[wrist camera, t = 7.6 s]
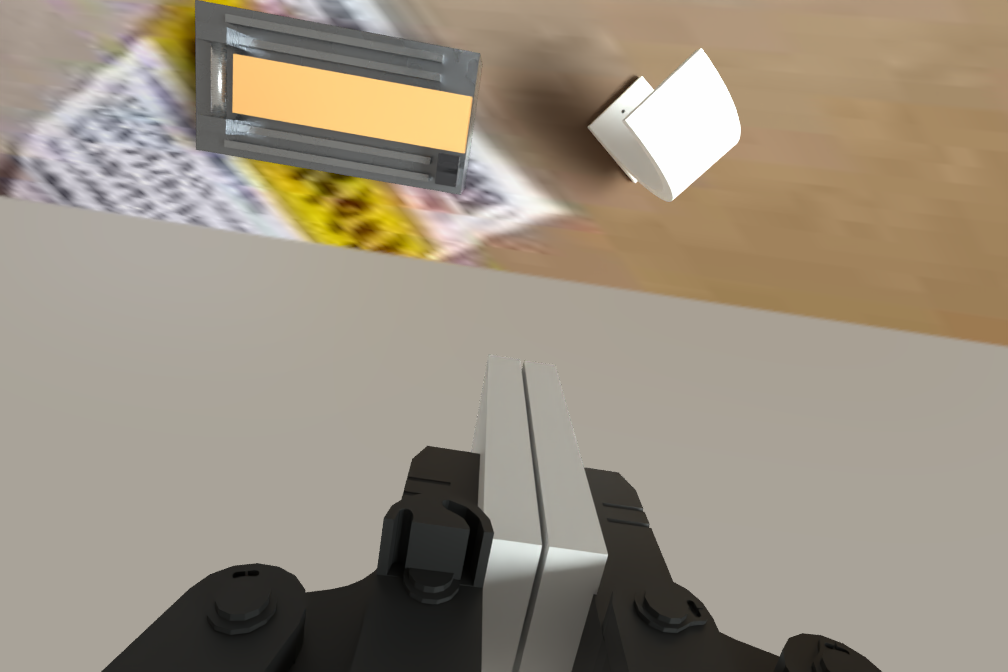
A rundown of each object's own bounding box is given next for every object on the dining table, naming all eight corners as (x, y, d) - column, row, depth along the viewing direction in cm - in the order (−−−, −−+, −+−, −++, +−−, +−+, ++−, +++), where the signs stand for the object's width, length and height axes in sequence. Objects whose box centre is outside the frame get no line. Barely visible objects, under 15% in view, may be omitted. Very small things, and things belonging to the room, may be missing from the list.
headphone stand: (639, 76, 37) (702, 47, 26) (693, 146, 39) (775, 148, 28) (586, 127, 38) (624, 119, 27) (641, 193, 40) (699, 213, 28)
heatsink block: (233, 148, 38) (172, 149, 31) (234, 19, 36) (169, -13, 29) (464, 188, 40) (457, 198, 32) (482, 64, 37) (478, 45, 30)
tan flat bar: (240, 113, 32) (232, 112, 31) (241, 56, 31) (233, 53, 30) (465, 153, 33) (463, 153, 32) (472, 98, 32) (471, 96, 31)
